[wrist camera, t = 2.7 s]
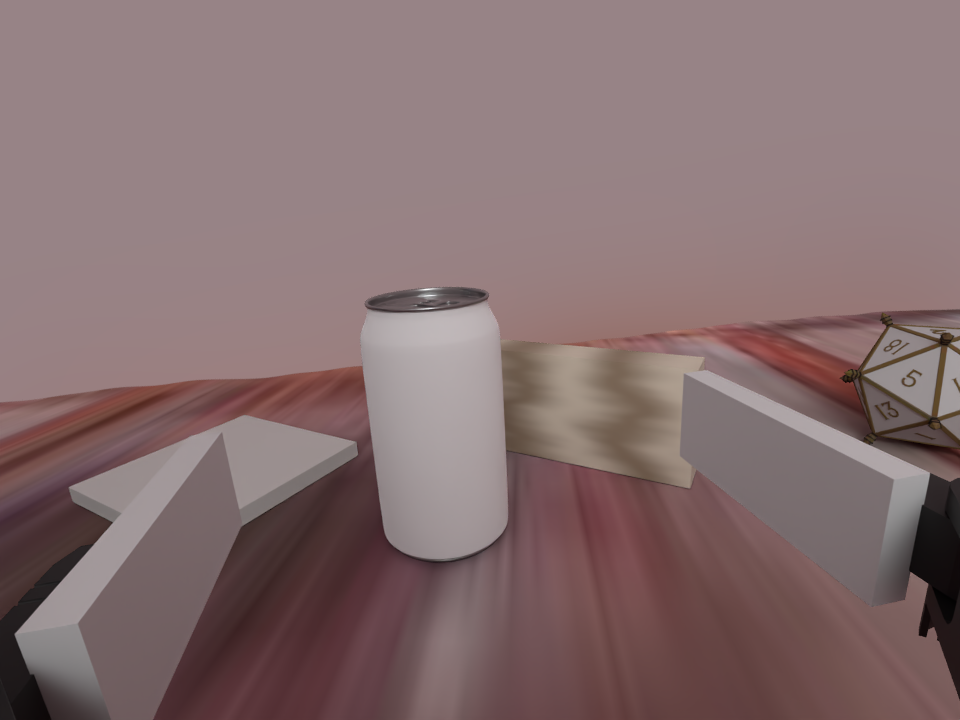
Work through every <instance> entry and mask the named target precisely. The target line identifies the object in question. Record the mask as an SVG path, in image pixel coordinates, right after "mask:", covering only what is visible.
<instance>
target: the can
mask: <svg viewBox="0 0 960 720" xmlns="http://www.w3.org/2000/svg"><path fill="white" fill-rule="evenodd" d="M488 297H489V293H488V292H487V291H485V290H481V289H476V288H465V287H438V288H437V287H436V288H421V289H411V290H403V291H397V292H391V293H386V294H382V295H378V296H375V297H372V298H370V299H368V300H366V301H365V306H366V307H367V316H366V320H365V322H364V325H363V328H362V331H361V335H360V346H361V356H362V364H363V373H364V381H365V389H366V397H367V406H368V413H369V421H370V429H371V437H372V445H373V453H374V460H375V468H376V476H377V483H378V491H379V499H380V506H381V513H382V520H383V527H384V532H385V535H386V537H387V539H388V541H389V542H390V543H391V544H392V545H393V546H394V547H395V548H397V549H398V550H399V551H401V552H402V553H404V554H405V555H407V556H409V557H412V558H414V559H418V560H422V561H427V562H450V561H457V560H461V559H465V558H468V557H471V556H474V555H476V554H478V553H480V552H482V551H484V550H485V549H487V548H488V547H489V546H491V545H492V544H493V543H494V542H495V541H496V540H497V538H498V537H499V536H500V535H501V534H502V533H503V531H504V529H505V528H506V525H507V522H508V491H507V467H506V444H505V422H504V401H503V380H502V360H501V342H500V331H499V325H498V323H497V321H496V318H495V317H494V315H493V313H492V311H491V309H490V307H489V305H488V301H487V299H488Z"/></svg>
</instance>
